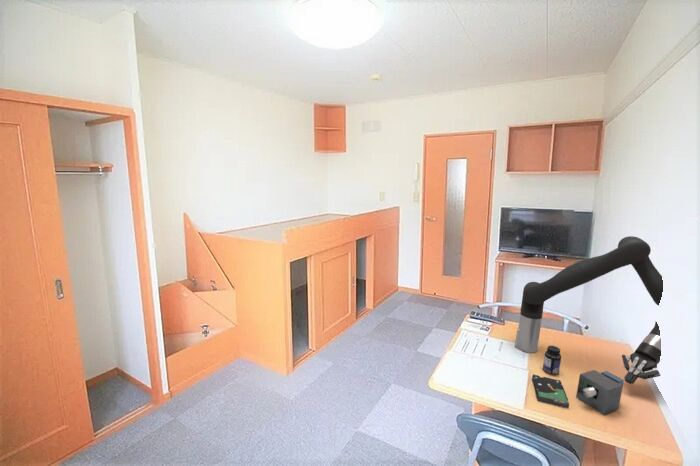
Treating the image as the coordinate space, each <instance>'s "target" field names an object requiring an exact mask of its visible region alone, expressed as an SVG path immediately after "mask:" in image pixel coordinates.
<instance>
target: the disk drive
mask: <svg viewBox="0 0 700 466" xmlns="http://www.w3.org/2000/svg"><path fill="white" fill-rule="evenodd" d="M531 382H532V385H533V387H534V391H535V397H536V400H537V402H540V403H544V404H547V405H553V406H557V407H560V408H564V409H569V408H570V404H569V403H570V402H569V399H568V396H567V393H566V391H565V388H564V386H563V383H562V380H560V379H556V378H551V377H546V376H543V377H541V376H539V375H537V374H532V376H531Z"/></svg>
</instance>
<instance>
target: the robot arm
mask: <svg viewBox="0 0 700 466" xmlns="http://www.w3.org/2000/svg"><path fill="white" fill-rule="evenodd" d="M651 251H652V250H651V246H650V245H649V243H648V242H646V241H644V240H643V239H642V238H640V237H637V236H632V235H631V236H630V235H629V236H624V237H622V238H621V239H620V240H619V242H618V244H617V248H615V249H613V250H610V251H609V252H607V253H605V254H602V255H597V256H593V257H590V258H585V259H582V260H579V261H576V262H574V263H573V264H570V265H568V266H566V267H565V268H563V269H561V270H560V271H559V272H558V273H556V274H555V275H554V276H552V277H551V278H549V279H547V280H545V281H542V282H537V281H530V282H527V283H526V284H525V285H524V287H523V290H522V298H521V307H520V312H519V321H518V327H517V329H516V335H515V336H516V338H515V344H514V345H515V346H514V347H515V348H516V349H518V350H520V351H522V352H525V353H528V354H529V353H530V354H531V353H532V354H533V353H536V352H538V347H539V339H540V334H541V327H542V321H543V314H544V313H543V311H544V305H545V304H544V303H545V302H546V301H548V300H549V299H551V298H553V297H555V296H558V294H561V293H564V292H566V291H570V290H572V289H575V288H577V287H579V286H582V285H585V284H587V283H589V282H592V281H594V280H595V279H598V278H600V277H603V276H604V275H607V274H608V273H611V272H613V271H615V270H618V269H621V268H624V267H626V266H630V265H631V266H632V268H633V269H634V270H635V272H636V274H637V275H638V277H639V279H640V280H641V282H642V284H643V286H644V287H645V290H646V291H647V292H648V293H649V296H650V297H651V299H652V301H653V302H654V304H656V305H657V306H659V303H660V300H661V297H662V292H663V280H662V277H663V276H662V274H661V273H660V272H659V271H658V269H657V268H656V267H655V265H654V264H653V261H652V260H651V258H650V254H651ZM660 356H661V338H660V330H659V326H658V324H657V322H656V321H655V323H654V326H653V328H652V329H651V330H650V331H649V333H648V334H647V335H646V336H645V337H644V338H643V340H642V341H641V343H640V344H639V345H638V346H637V348H636V349H635V351H634V352H633V353H630V355H625V354H621V358H622V363H623V366H624V367H623V368H624V369H625V370H626V371H627V373H626V374H625V376H624V379H623V380H624V381H625V383H627V384H629V385H634V384H635V382H636V381H637V379H642V380H648V379H653V378H657V377H658V378H659V377H661V372H660V371H659V370H658V369H657V368H658V364H659V363H660V362H661V361H660ZM629 362H631V365H630V364H629Z"/></svg>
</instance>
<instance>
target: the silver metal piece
mask: <svg viewBox="0 0 700 466" xmlns="http://www.w3.org/2000/svg"><path fill="white" fill-rule="evenodd" d="M600 373H601V374H603V375H605V376H606V377H608V378H610V379H612V380H614V381H616V382H617V383H619V384H621V385H623V386H624V381H625V379H623V378H620V377H619V376H617V375H615V374H613V373H612V372H610V371H608V370H605V371H602V372H600ZM582 393H583V395H584V396H585V397H587V398H590V397H593V396H596V395H597V394H598V390H597V389H596V388H594V387H588V388H585V389H583V390H582Z"/></svg>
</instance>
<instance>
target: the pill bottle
mask: <svg viewBox="0 0 700 466" xmlns="http://www.w3.org/2000/svg"><path fill="white" fill-rule="evenodd" d="M561 362H562V355H561V348H559V347H558V346H555V345H552V344H551V345H548V346H547V350H546V351H544V355H543V364H542V370H543V371H544V372H545V373H546V374H548V375H552V376H556V375H559V373H560V369H561Z"/></svg>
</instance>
